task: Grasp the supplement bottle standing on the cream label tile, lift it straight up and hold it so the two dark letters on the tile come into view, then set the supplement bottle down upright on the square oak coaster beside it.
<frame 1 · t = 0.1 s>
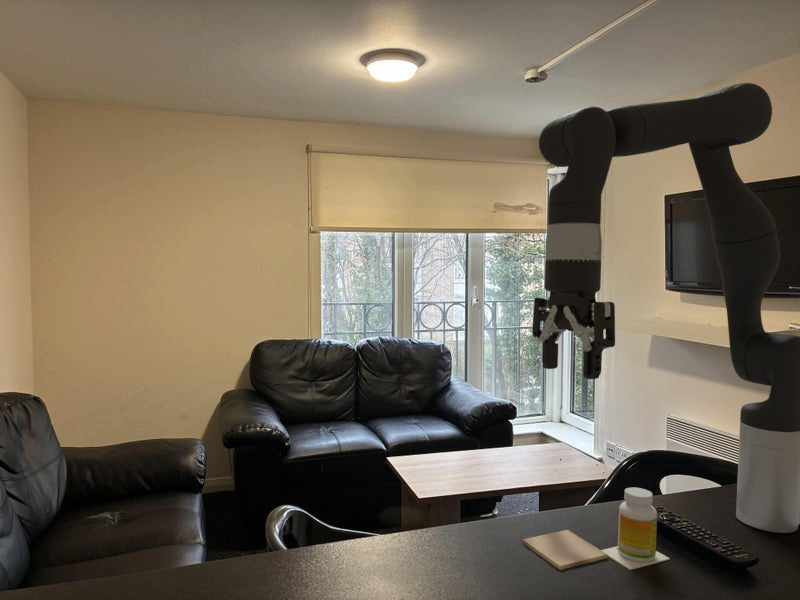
hand: (569, 373, 81), 29 cm above the table, tool pointing down, fingers open, 8 cm apart
code tile: (634, 555, 89), on the table
supplement bottle: (636, 555, 89), resting on code tile
oak coaster: (563, 550, 90), on the table
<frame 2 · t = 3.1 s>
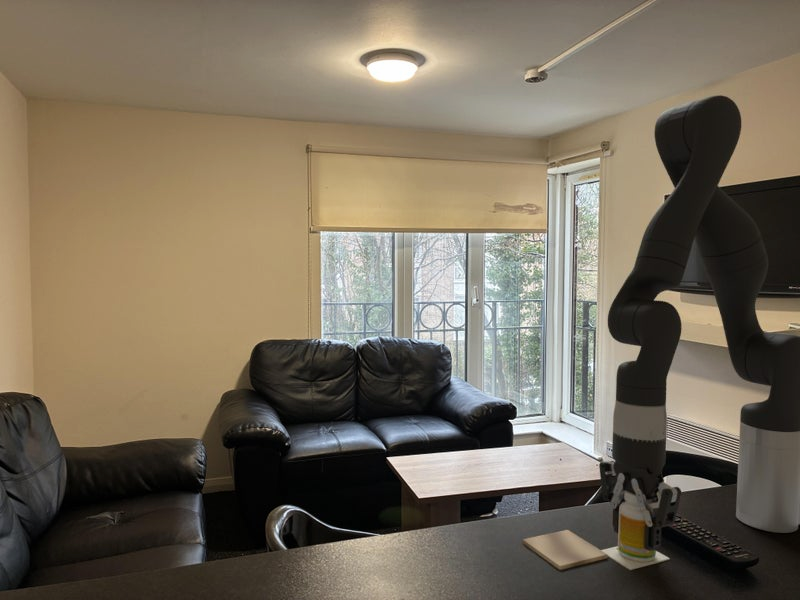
hand: (635, 539, 88), 3 cm above the table, tool pointing down, fingers closed on supplement bottle, 5 cm apart
supplement bottle: (636, 555, 89), resting on code tile, touching gripper
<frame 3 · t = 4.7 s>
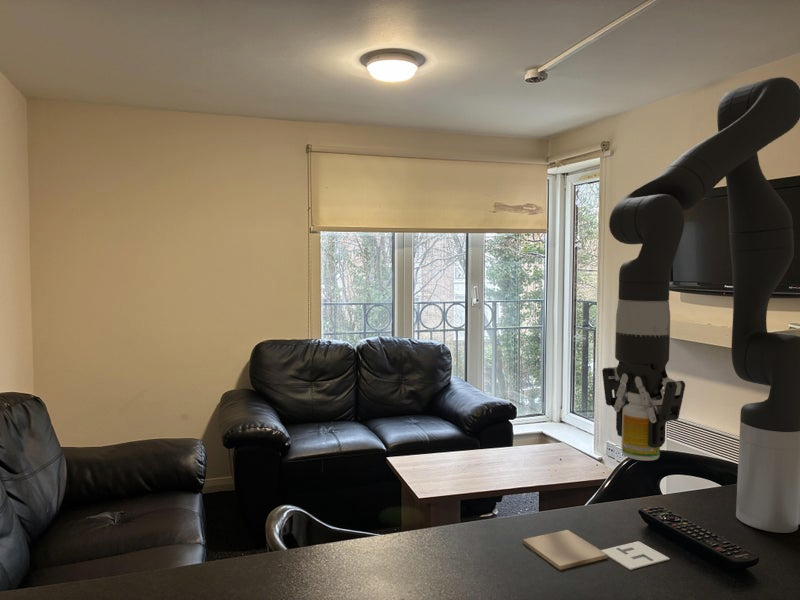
hand: (639, 440, 88), 18 cm above the table, tool pointing down, fingers closed on supplement bottle, 5 cm apart
supplement bottle: (640, 456, 88), point 15 cm above the table, touching gripper
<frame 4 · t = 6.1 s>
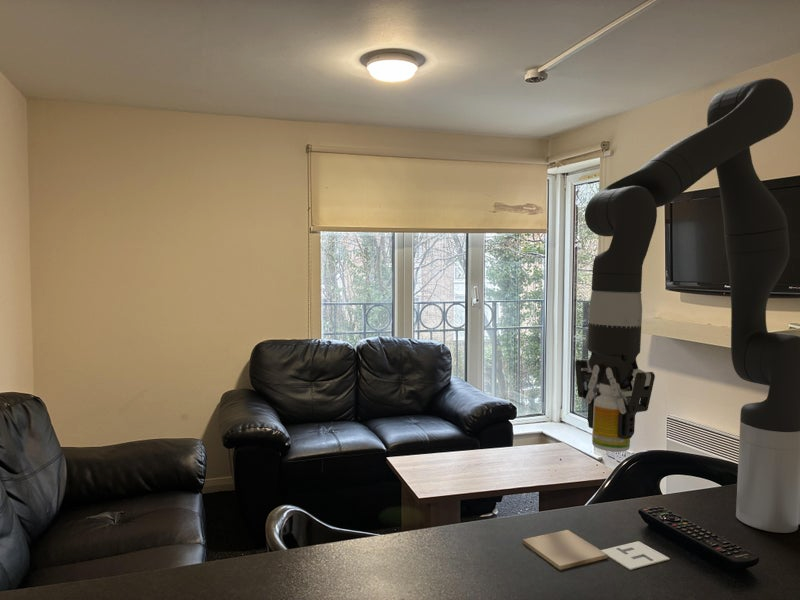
hand: (609, 432, 88), 19 cm above the table, tool pointing down, fingers closed on supplement bottle, 5 cm apart
supplement bottle: (610, 448, 88), point 17 cm above the table, touching gripper
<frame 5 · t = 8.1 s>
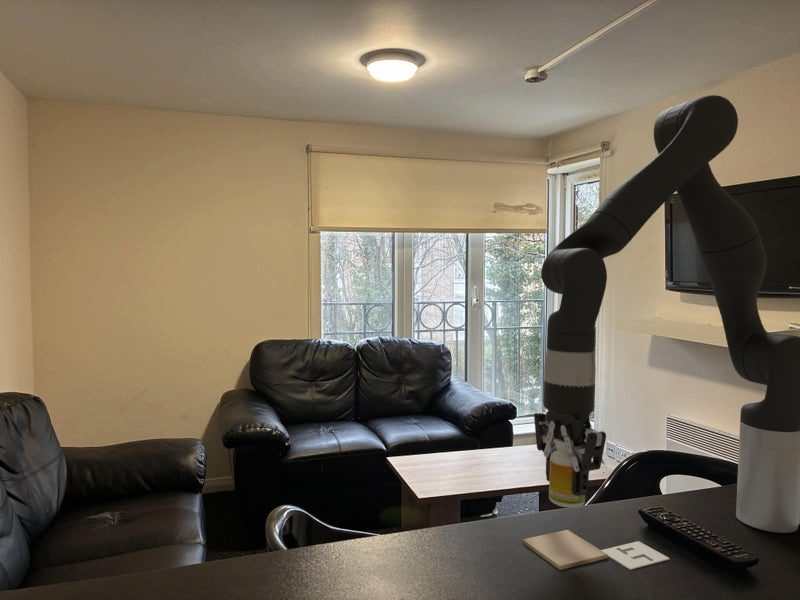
hand: (565, 487, 90), 10 cm above the table, tool pointing down, fingers closed on supplement bottle, 5 cm apart
supplement bottle: (566, 502, 90), point 8 cm above the table, touching gripper
when the fingers open (5 cm above the table, at t = 9.6 s): supplement bottle drops 2 cm, resting on oak coaster.
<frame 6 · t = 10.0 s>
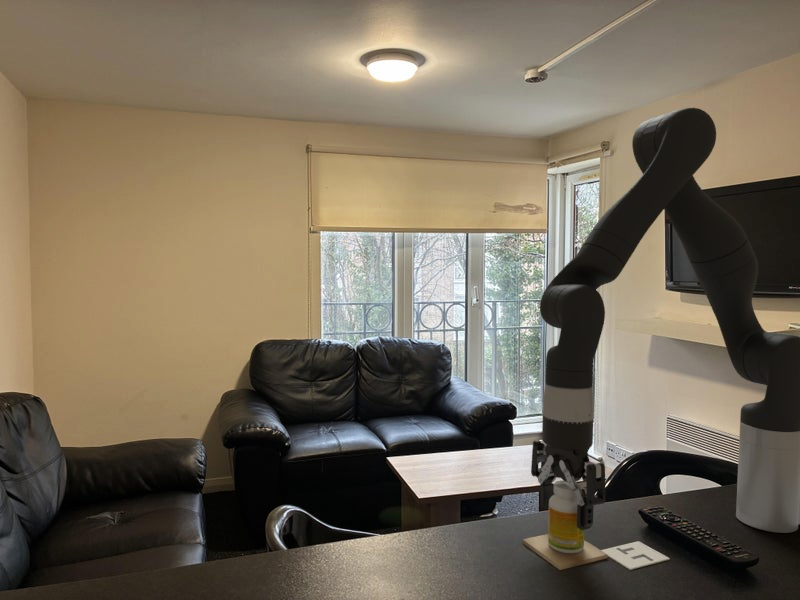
hand: (564, 517, 90), 5 cm above the table, tool pointing down, fingers open, 8 cm apart
supplement bottle: (565, 547, 90), resting on oak coaster
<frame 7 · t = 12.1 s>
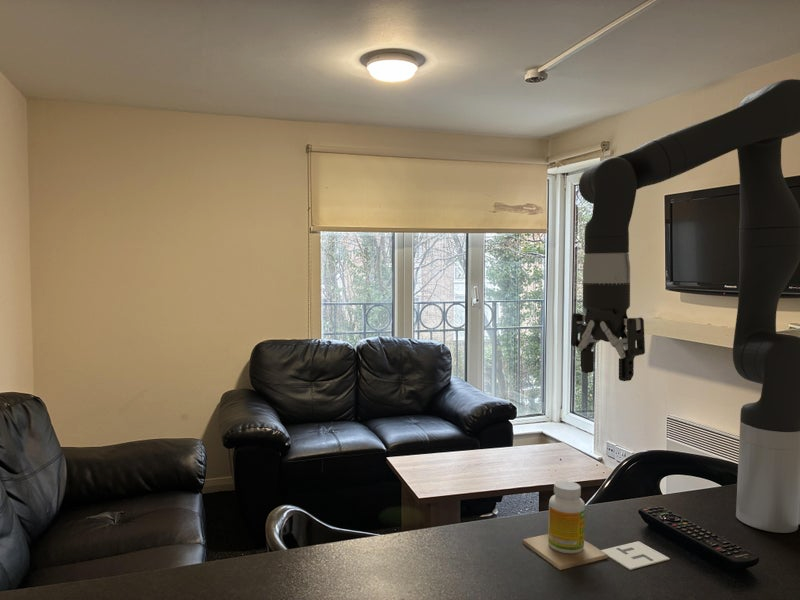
hand: (605, 376, 98), 26 cm above the table, tool pointing down, fingers open, 8 cm apart
nothing on the table moved.
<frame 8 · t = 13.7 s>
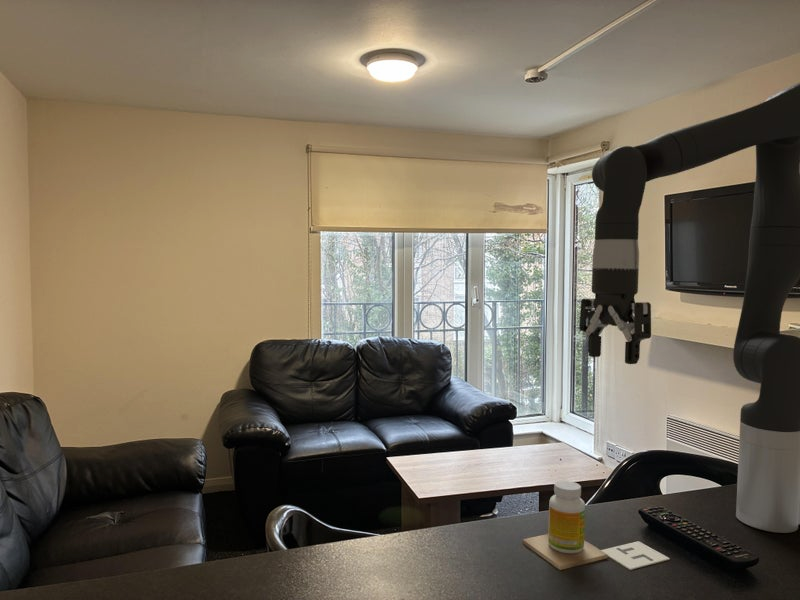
hand: (612, 360, 101), 28 cm above the table, tool pointing down, fingers open, 8 cm apart
nothing on the table moved.
at the end: supplement bottle inside the target area on the oak coaster (0.4 cm from its centre), point 0.4 cm above the oak coaster's base; supplement bottle tilted 0°; supplement bottle touching oak coaster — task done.
